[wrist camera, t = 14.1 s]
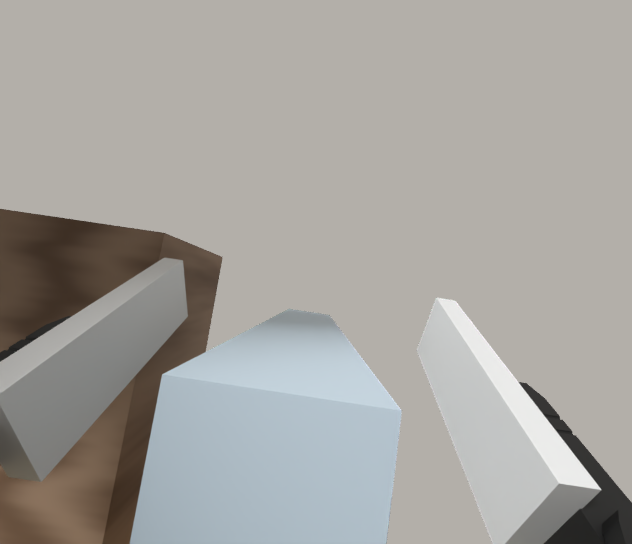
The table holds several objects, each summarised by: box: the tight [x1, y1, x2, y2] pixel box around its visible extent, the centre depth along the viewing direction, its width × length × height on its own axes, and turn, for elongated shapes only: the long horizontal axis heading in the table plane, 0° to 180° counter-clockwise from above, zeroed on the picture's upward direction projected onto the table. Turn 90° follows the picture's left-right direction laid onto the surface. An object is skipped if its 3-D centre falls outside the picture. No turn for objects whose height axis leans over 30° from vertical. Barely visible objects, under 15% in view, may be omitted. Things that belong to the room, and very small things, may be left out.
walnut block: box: [0, 209, 222, 544], centre depth 20 cm, size 10×10×30 cm
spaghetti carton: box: [130, 309, 402, 544], centre depth 15 cm, size 22×4×4 cm, turn 0°
